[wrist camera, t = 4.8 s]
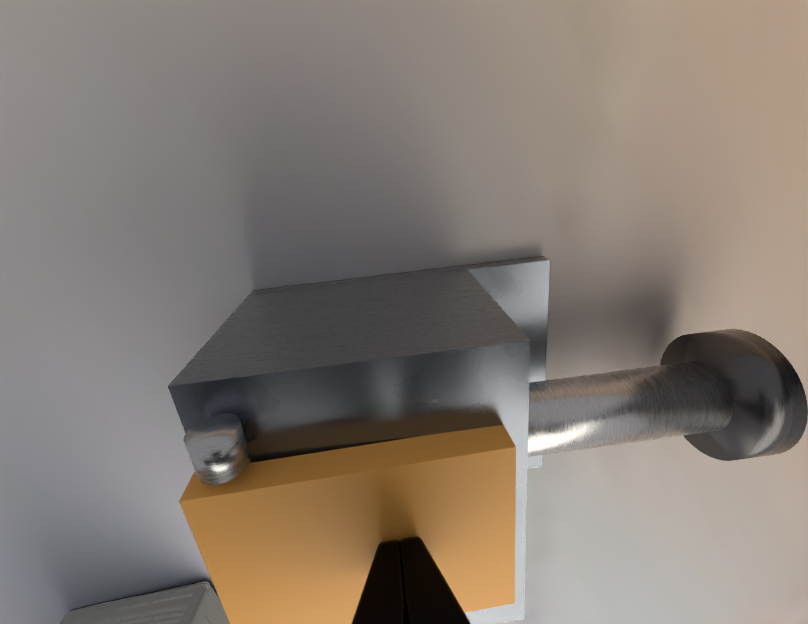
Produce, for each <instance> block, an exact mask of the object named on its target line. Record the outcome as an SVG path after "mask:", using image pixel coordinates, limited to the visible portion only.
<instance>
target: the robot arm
mask: <svg viewBox="0 0 808 624" xmlns="http://www.w3.org/2000/svg"><path fill="white" fill-rule="evenodd" d="M352 624H471V623H470V621H469V619H468V618H467V616H466V614H465V612H464V611H463V609H462V607H461V606H460V604H459V602H458V600H457V599H456V597H455V595H454V594H453V592H452V590H451V588H450V587H449V585H448V583H447V582H446V580H445V578H444V576H443V575H442V573H441V571H440V570H439V568H438V566H437V564H436V563H435V561H434V559H433V558H432V556H431V554H430V552H429V551H428V549H427V547H426V545H425V544H424V542H423V540H422V539H421V538H420V537H418V536H415V537H408V538H403V539H402V540H401V541H400V542H399V541H398V540H390V541H384V542H381V543H379V545H378V547H377V549H376V552H375V555H374V558H373V561H372V564H371V567H370V570H369V573H368V576H367V579H366V582H365V585H364V588H363V591H362V594H361V597H360V600H359V603H358V606H357V609H356V612H355V615H354V618H353V621H352Z"/></svg>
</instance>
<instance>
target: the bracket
mask: <svg viewBox="0 0 808 624" xmlns="http://www.w3.org/2000/svg"><path fill="white" fill-rule="evenodd" d="M549 271H550V260H549V259H547V258H545V257H544V256H541V257H532V258H524V259H516V260H507V261H499V262H490V263H482V264H473V265H465V266H456V267H448V268H440V269H431V270H423V271H414V272H406V273H397V274H389V275H380V276H372V277H363V278H355V279H347V280H338V281H330V282H321V283H313V284H304V285H296V286H287V287H279V288H271V289H262V290H254V291H252V293H251V294H250V295H249V296H248V297H247V298H246V299H245V300H244V302H243V303H242V304H241V305H240V306H239V307H238V308H237V309H236V310H235V312H234V313H233V314H232V315H231V316H230V317H229V318H228V319H227V321H226V322H225V323H224V324H223V325H222V326H221V327H220V328H219V330H218V331H217V332H216V333H215V334H214V335H213V336H212V337H211V338H210V340H209V341H208V342H207V343H206V344H205V345H204V346H203V347H202V349H201V350H200V351H199V352H198V353H197V354H196V355H195V356H194V358H193V359H192V360H191V361H190V362H189V363H188V364H187V365H186V367H185V368H184V369H183V370H182V371H181V372H180V373H179V374H178V375H177V377H176V378H175V379H174V380H173V381H172V382H171V383H170V384H169V386H168V388H169V390H170V393H171V396H172V398H173V401H174V403H175V406H176V409H177V411H178V414H179V417H180V419H181V422H182V425H183V427H184V430H185V433H186V434H185V436H184V442H185V445H186V448H187V450H188V453H189V456H190V458H191V461H192V463H193V466H194V469H195V471H196V474H197V477H198V479H199V481H200V482H201V483H203V484H206V485H217V484H222V483H225V482H228V481H230V480H232V479H234V478H235V477H237V476H238V475H240V474H241V473H242V472H243V471H244V470H245V469H246V468H247V467H248V465H249V464H250V463H253V462H260V461H266V460H273V459H279V458H285V457H292V456H298V455H304V454H311V453H317V452H323V451H330V450H336V449H342V448H349V447H355V446H362V445H368V444H374V443H381V442H387V441H393V440H400V439H406V438H412V437H419V436H425V435H432V434H439V433H447V432H454V431H462V430H469V429H476V428H484V427H491V426H499V425H504V426H505V428H506V430H507V432H508V433H509V435H510V437H511V439H512V441H513V442H514V444H515V446H516V517H515V603H513V604H508V605H503V606H497V607H492V608H487V609H482V610H476V611H471V612H466V613H465V614H466V616H467V618H468V619H469V621H470V623H471V624H497V623H503V622H510V621H516V620H523V619H524V599H525V554H526V510H527V469H532V468H539V467H542V455H537V456H530V457H528V421H529V383H531V382H538V381H545V372H546V347H547V322H548V297H549Z"/></svg>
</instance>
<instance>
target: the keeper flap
mask: <svg viewBox="0 0 808 624" xmlns="http://www.w3.org/2000/svg"><path fill="white" fill-rule="evenodd" d="M179 502H180V505H181V507H182V509H183V512H184V514H185V517H186V519H187V521H188V524H189V526H190V529H191V531H192V533H193V536H194V538H195V541H196V543H197V545H198V548H199V550H200V553H201V555H202V557H203V560H204V562H205V565H206V567H207V569H208V572H209V574H210V577H211V579H212V582H213V584H214V586H215V589H216V591H217V594H218V596H219V598H220V601H221V603H222V606H223V608H224V610H225V613H226V615H227V618H228V620H229V622H230V624H352V621H353V618H354V615H355V612H356V609H357V606H358V603H359V600H360V597H361V594H362V591H363V588H364V585H365V582H366V579H367V576H368V573H369V570H370V567H371V564H372V561H373V558H374V555H375V552H376V549H377V547H378V545H379V543H381V542H384V541H390V540H398V541H399V542H400V541H401V540H402V539H403V538H408V537H415V536H418V537H420V538H421V539H422V540H423V542H424V544H425V545H426V547H427V549H428V551H429V552H430V554H431V556H432V558H433V559H434V561H435V563H436V564H437V566H438V568H439V570H440V571H441V573H442V575H443V576H444V578H445V580H446V582H447V583H448V585H449V587H450V588H451V590H452V592H453V594H454V595H455V597H456V599H457V600H458V602H459V604H460V606H461V607H462V609H463V611H464V612H465V613H466V612H471V611H476V610H482V609H487V608H492V607H497V606H503V605H508V604H513V603H515V517H516V446H515V444H514V442H513V441H512V439H511V437H510V435H509V433H508V432H507V430H506V428H505V426H504V425H499V426H491V427H484V428H476V429H469V430H462V431H454V432H447V433H439V434H432V435H425V436H419V437H412V438H406V439H400V440H393V441H387V442H381V443H374V444H368V445H362V446H355V447H349V448H342V449H336V450H330V451H323V452H317V453H311V454H304V455H298V456H292V457H285V458H279V459H273V460H266V461H260V462H253V463H250V464H249V465H248V467H247V468H246V469H245V470H244V471H243V472H242V473H241V474H240V475H238V476H237V477H235V478H234V479H232V480H230V481H228V482H225V483H222V484H217V485H206V484H203V483H201V482H200V481H199V479H198V477H197V474H196V472H194V474H193V476H192V478H191V480H190V482H189V484H188V486H187V488H186V490H185V491H184V493H183V495H182V497H181V499H180V501H179Z"/></svg>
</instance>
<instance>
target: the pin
mask: <svg viewBox="0 0 808 624" xmlns="http://www.w3.org/2000/svg"><path fill="white" fill-rule="evenodd" d="M807 415H808V409H807V400H806V395H805V392H804V389H803V386H802V383H801V381H800V379H799V377H798V375H797V373H796V371H795V370H794V368H793V366H792V365H791V364H790V362H789V361H788V360H787V358H786V357H785V356H784V355H783V354H782V353H781V352H780V351H779V350H778V349H777V348H776V347H774V346H773V345H772V344H771V343H769V342H768V341H766V340H765V339H763V338H761V337H760V336H758V335H756V334H753V333H750V332H748V331H743V330H737V329H726V330H718V331H711V332H703V333H695V334H688V335H683V336H680V337H678V338H676V339H675V340H673V341H672V342H671V343H670V344H669V345H668V347H667V348H666V350H665V352H664V354H663V356H662V359H661V363H660V366H653V367H645V368H638V369H630V370H623V371H615V372H607V373H600V374H592V375H584V376H577V377H569V378H561V379H554V380H546V381H538V382H531V383H529V421H528V457H530V456H537V455H544V454H551V453H559V452H566V451H573V450H580V449H588V448H595V447H602V446H609V445H617V444H624V443H631V442H638V441H646V440H653V439H660V438H667V437H675V436H682V435H683V436H684V437H685V438H686V439H687V440H688V441H689V442H690V443H691V444H692V445H693V446H694V447H695V448H697V449H698V450H699V451H701V452H703V453H704V454H706V455H708V456H710V457H713V458H715V459H719V460H726V461H731V460H738V459H746V458H753V457H760V456H767V455H774V454H780V453H782V452H785V451H787V450H789V449H791V448H792V447H793V446H794V445H795V444H797V443H798V441H799V440H800V438H801V437H802V435H803V433H804V431H805V427H806V423H807Z"/></svg>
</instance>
